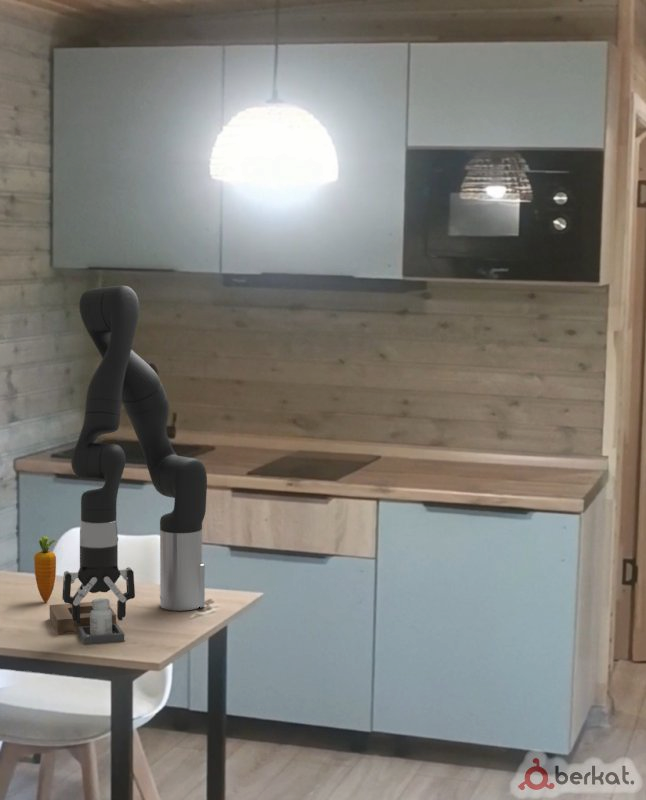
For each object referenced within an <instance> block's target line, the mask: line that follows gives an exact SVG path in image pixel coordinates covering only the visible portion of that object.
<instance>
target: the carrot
mask: <svg viewBox="0 0 646 800" xmlns="http://www.w3.org/2000/svg"><path fill="white" fill-rule="evenodd" d="M48 541H49V542H48ZM54 542H56V540H55V539H54V538H53V539H51V540H49V536H45V535H43V536H42V537H41V538H39V539H38V543H39V547H40V549H41V551H38V552H36V553H35V554H34V557H33V561H34V575H35V581H36V585H37V587H36V588H37V589H38V593H39V595H40V597H41V600H42V601H43V602H44V603H47V602H48V601H50V598H51V596H52V594H53V590H54V586H55V581H56V576H57V575H56V573H57V557H56V554H55V552H54V551H50V550H49V549H50V546H51V545H52V544H53V543H54Z"/></svg>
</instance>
